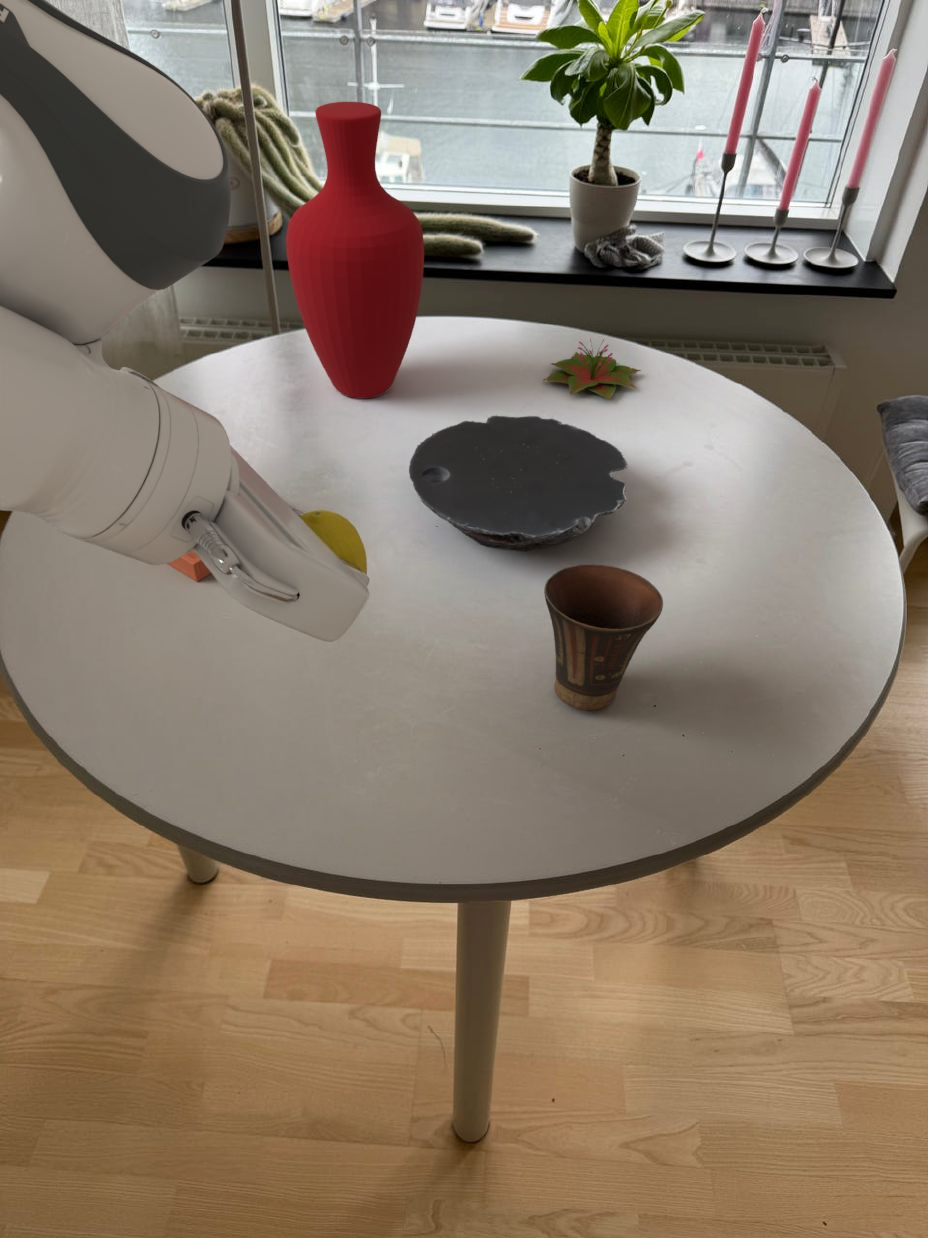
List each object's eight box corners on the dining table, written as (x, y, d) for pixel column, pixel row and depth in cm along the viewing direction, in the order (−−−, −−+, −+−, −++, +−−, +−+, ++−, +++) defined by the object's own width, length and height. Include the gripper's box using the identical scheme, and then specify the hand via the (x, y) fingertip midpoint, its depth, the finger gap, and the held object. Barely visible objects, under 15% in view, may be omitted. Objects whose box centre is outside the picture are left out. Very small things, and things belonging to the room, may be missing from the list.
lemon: (320, 650, 62) (306, 552, 56) (271, 607, 65) (254, 510, 59) (387, 612, 64) (380, 515, 59) (338, 572, 68) (327, 477, 62)
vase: (372, 346, 122) (360, 82, 103) (450, 388, 115) (454, 111, 95) (275, 383, 115) (242, 105, 95) (352, 431, 107) (334, 138, 87)
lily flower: (615, 414, 111) (620, 378, 108) (524, 386, 115) (526, 350, 112) (657, 374, 118) (663, 338, 115) (570, 349, 123) (573, 314, 120)
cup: (643, 651, 81) (661, 556, 74) (647, 730, 74) (668, 633, 68) (537, 642, 82) (547, 547, 75) (532, 720, 75) (542, 623, 68)
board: (365, 539, 92) (362, 494, 89) (462, 433, 107) (463, 391, 104) (583, 605, 85) (589, 559, 82) (654, 482, 100) (662, 439, 97)
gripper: (272, 525, 44) (450, 603, 55) (115, 354, 57) (285, 445, 68) (200, 634, 46) (388, 690, 56) (61, 442, 58) (237, 518, 69)
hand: (331, 555), depth 62 cm, fingers closed on lemon, 5 cm apart
